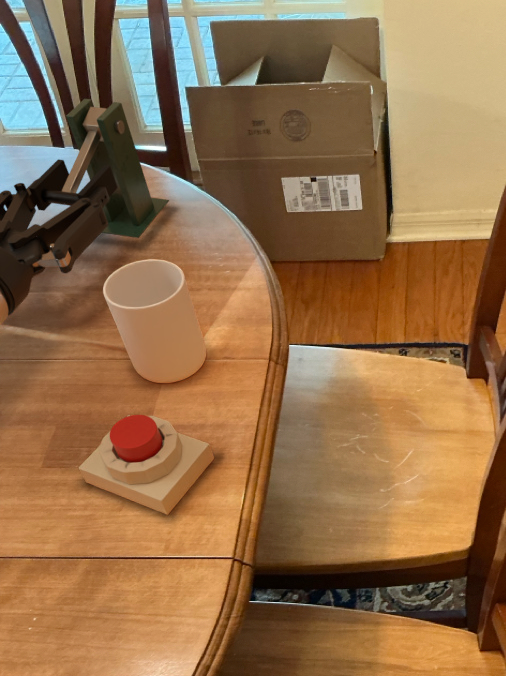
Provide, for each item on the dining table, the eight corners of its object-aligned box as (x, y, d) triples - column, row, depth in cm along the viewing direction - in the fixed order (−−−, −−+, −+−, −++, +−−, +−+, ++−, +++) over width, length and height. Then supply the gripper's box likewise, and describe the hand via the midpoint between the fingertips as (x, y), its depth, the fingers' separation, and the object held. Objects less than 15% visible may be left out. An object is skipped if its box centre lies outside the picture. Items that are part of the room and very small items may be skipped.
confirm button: (107, 454, 74) (99, 439, 72) (135, 424, 76) (128, 409, 74) (144, 468, 72) (137, 453, 71) (171, 437, 75) (165, 422, 73)
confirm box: (85, 482, 76) (70, 455, 73) (135, 429, 81) (122, 401, 77) (168, 515, 74) (155, 488, 70) (214, 458, 78) (205, 430, 75)
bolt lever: (89, 213, 90) (79, 198, 88) (48, 207, 91) (37, 193, 89) (128, 125, 94) (118, 109, 91) (88, 121, 95) (78, 104, 92)
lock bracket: (141, 246, 100) (101, 130, 88) (93, 239, 101) (47, 124, 89) (171, 208, 105) (137, 94, 93) (125, 202, 106) (86, 88, 94)
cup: (132, 389, 84) (99, 313, 76) (137, 320, 91) (107, 243, 83) (208, 379, 85) (184, 302, 76) (207, 312, 92) (185, 234, 83)
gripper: (-80, 307, 84) (33, 193, 97) (69, 332, 81) (166, 212, 94) (-120, 245, 78) (7, 133, 91) (40, 271, 75) (148, 151, 88)
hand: (87, 173), depth 92 cm, fingers closed on bolt lever, 5 cm apart
